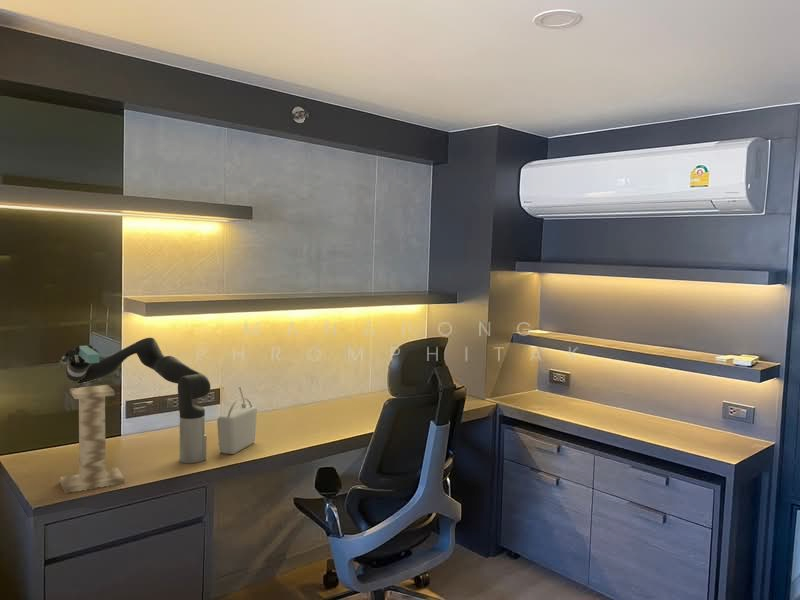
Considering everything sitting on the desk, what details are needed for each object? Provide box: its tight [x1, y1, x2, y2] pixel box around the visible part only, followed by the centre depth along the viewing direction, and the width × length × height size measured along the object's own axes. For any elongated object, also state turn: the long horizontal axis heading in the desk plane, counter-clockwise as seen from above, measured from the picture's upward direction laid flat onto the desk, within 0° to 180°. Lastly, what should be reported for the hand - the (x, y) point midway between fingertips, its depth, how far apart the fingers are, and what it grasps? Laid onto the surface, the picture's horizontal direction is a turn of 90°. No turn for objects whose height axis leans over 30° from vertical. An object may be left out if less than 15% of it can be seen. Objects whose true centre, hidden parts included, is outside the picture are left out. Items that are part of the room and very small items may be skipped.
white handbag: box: [216, 386, 258, 455], centre depth 249 cm, size 22×8×25 cm, turn 165°
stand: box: [59, 384, 125, 494], centre depth 206 cm, size 18×12×32 cm, turn 126°
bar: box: [78, 345, 100, 364], centre depth 222 cm, size 4×26×3 cm, turn 36°
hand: (84, 347), depth 228 cm, fingers closed on bar, 3 cm apart
